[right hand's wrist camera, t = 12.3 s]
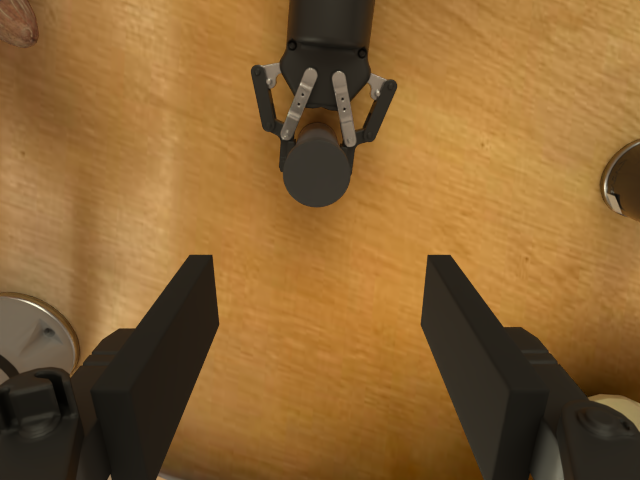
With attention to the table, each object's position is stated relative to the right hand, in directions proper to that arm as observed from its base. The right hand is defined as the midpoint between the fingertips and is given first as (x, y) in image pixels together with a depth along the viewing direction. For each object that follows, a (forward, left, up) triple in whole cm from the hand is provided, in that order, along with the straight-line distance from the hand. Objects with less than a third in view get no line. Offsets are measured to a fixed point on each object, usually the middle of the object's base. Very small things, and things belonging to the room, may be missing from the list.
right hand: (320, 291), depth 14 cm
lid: (0, 0, -19) cm, 19 cm away
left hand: (0, -3, -29) cm, 30 cm away
